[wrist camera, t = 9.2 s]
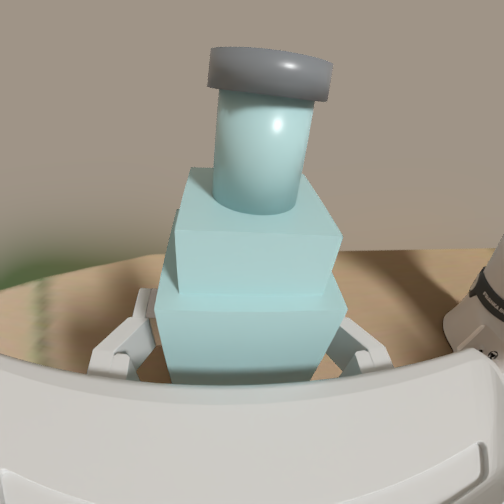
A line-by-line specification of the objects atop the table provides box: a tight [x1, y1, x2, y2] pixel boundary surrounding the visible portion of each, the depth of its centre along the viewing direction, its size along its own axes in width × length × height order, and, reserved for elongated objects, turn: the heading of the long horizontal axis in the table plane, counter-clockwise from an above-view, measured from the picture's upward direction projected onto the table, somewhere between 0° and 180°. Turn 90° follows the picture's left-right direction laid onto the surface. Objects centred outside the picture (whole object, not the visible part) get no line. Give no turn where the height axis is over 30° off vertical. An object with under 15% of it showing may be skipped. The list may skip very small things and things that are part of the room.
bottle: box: [154, 47, 348, 385], centre depth 13 cm, size 5×5×24 cm
